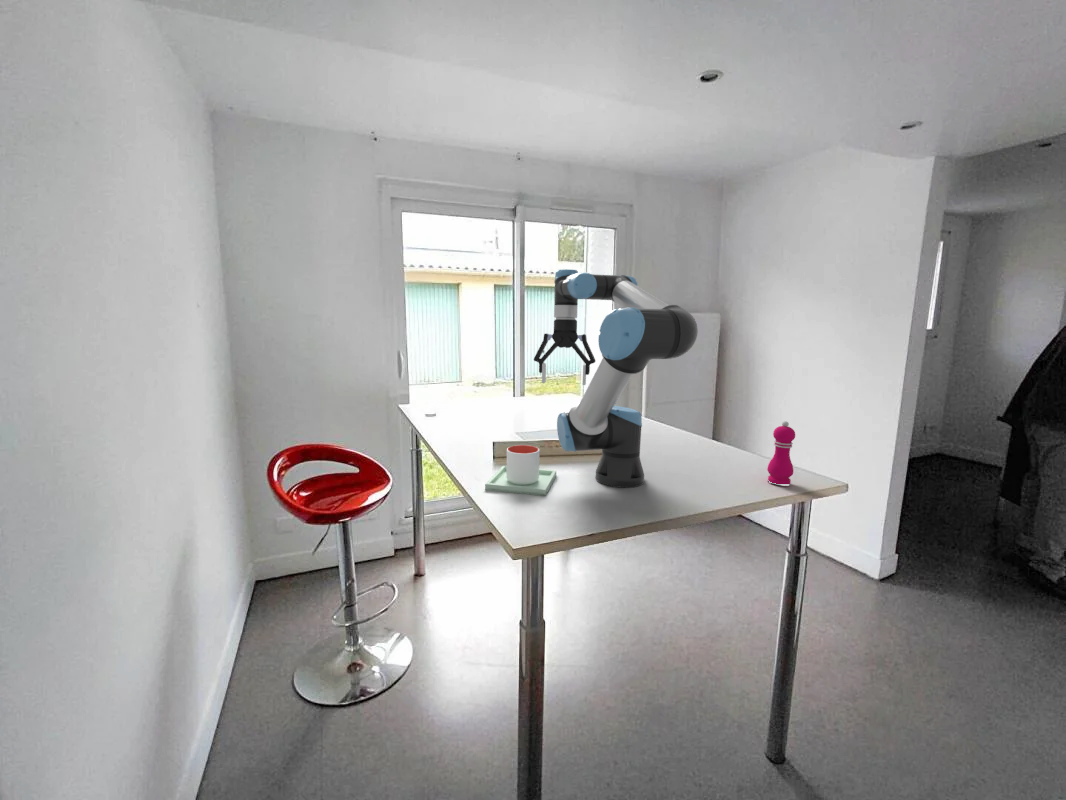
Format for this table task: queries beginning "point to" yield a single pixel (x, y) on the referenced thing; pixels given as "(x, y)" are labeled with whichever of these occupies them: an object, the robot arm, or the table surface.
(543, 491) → the tray
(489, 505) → the table surface
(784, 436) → the pepper mill
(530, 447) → the cup
